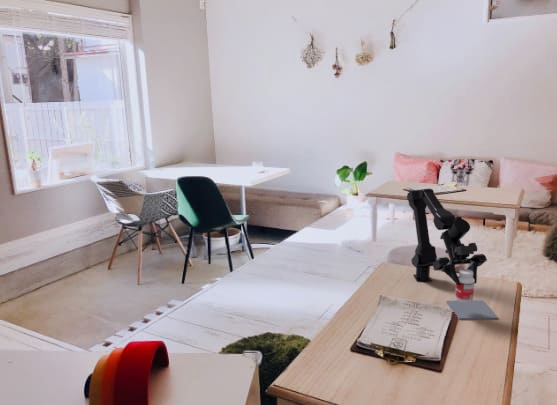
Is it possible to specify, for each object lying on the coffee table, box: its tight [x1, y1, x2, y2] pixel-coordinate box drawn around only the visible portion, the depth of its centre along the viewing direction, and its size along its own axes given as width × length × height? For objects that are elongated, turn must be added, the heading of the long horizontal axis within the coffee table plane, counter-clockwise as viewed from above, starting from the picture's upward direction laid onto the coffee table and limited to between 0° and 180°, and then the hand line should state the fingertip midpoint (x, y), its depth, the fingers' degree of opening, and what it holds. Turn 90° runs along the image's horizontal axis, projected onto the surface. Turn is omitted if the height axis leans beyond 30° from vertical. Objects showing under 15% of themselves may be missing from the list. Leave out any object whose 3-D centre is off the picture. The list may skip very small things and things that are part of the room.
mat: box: [446, 299, 499, 321], centre depth 177 cm, size 14×14×1 cm
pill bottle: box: [454, 268, 475, 303], centre depth 172 cm, size 6×6×11 cm
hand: (467, 284), depth 171 cm, fingers closed on pill bottle, 6 cm apart
